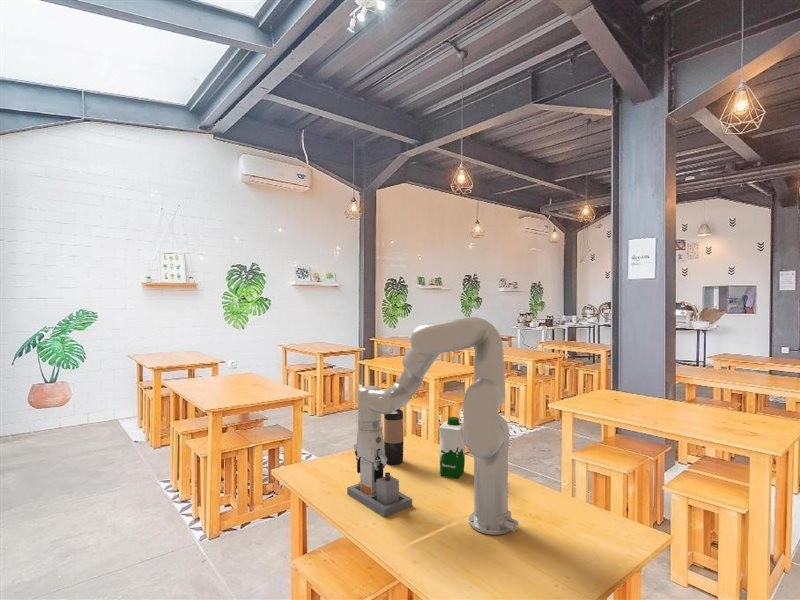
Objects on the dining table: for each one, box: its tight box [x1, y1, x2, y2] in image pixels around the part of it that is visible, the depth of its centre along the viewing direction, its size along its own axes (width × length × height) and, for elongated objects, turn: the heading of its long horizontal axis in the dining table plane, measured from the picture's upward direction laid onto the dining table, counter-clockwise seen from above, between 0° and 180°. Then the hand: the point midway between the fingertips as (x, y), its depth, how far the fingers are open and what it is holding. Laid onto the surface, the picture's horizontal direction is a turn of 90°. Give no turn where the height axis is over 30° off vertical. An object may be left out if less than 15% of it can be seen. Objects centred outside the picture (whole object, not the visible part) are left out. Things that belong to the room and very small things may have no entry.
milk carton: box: [438, 416, 466, 480], centre depth 165 cm, size 9×9×20 cm
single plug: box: [376, 472, 400, 506], centre depth 140 cm, size 5×5×10 cm
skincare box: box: [359, 458, 379, 495], centre depth 147 cm, size 6×4×12 cm
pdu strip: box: [346, 481, 413, 518], centre depth 144 cm, size 20×11×3 cm, turn 39°
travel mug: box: [383, 408, 404, 466], centre depth 177 cm, size 8×8×20 cm
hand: (369, 476), depth 148 cm, fingers open, 9 cm apart
